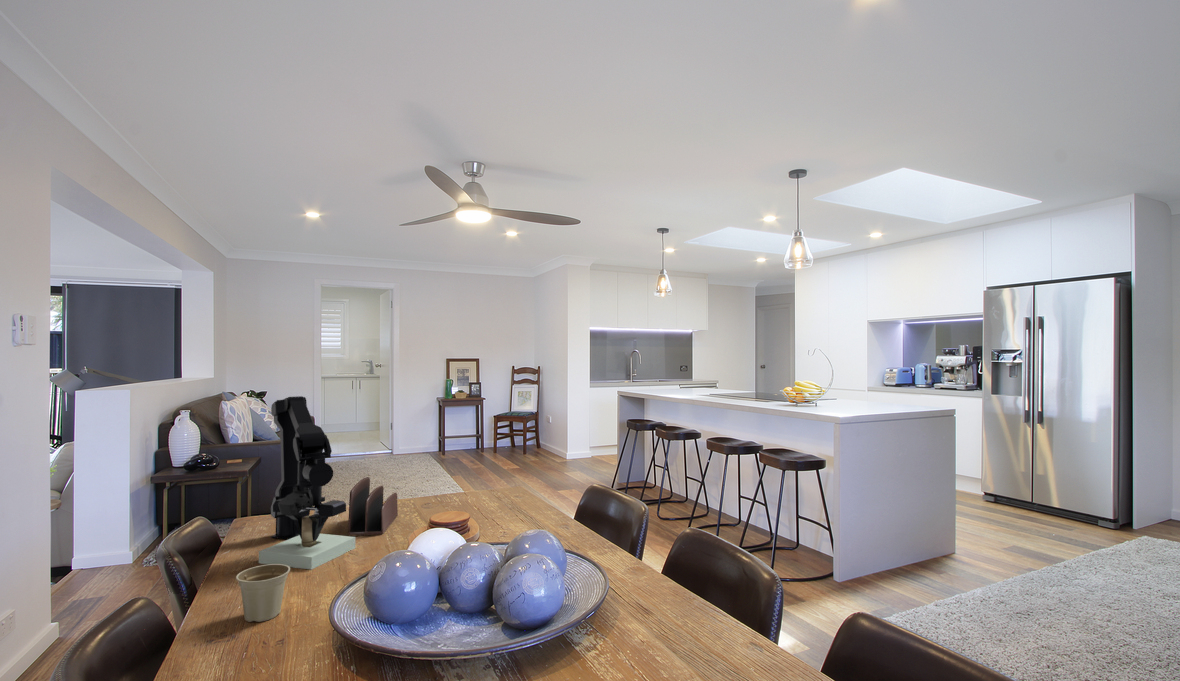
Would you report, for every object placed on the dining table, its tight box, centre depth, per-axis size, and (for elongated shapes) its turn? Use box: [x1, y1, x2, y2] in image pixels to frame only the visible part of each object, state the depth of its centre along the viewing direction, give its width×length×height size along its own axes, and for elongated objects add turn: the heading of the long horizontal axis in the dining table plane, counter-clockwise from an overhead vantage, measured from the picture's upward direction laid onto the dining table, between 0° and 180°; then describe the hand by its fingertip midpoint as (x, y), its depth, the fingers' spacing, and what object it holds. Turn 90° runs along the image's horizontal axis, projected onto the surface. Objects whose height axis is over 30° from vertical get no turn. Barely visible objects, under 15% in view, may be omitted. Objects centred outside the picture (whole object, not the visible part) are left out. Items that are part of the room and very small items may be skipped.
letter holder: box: [347, 476, 399, 536], centre depth 174 cm, size 10×20×14 cm, turn 7°
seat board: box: [258, 533, 356, 570], centre depth 147 cm, size 16×16×3 cm
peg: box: [301, 515, 316, 547], centre depth 147 cm, size 4×4×9 cm
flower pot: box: [235, 564, 291, 623], centre depth 113 cm, size 9×9×9 cm
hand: (309, 539), depth 147 cm, fingers closed on peg, 3 cm apart
